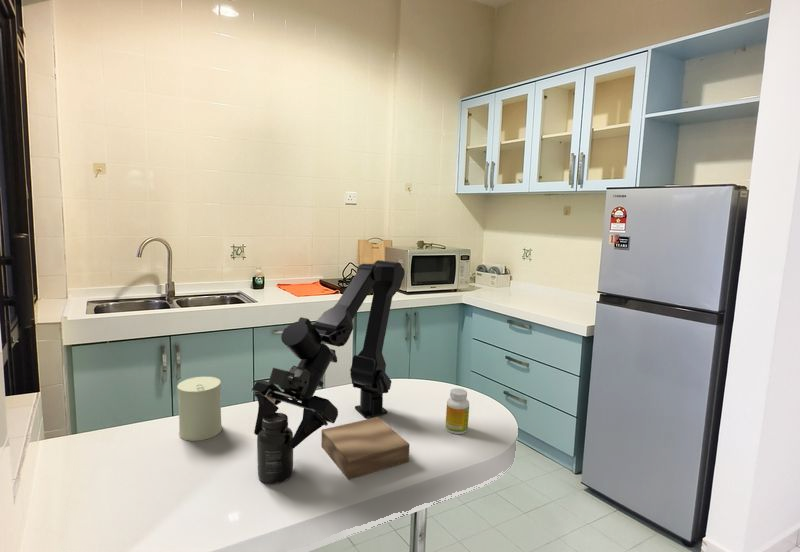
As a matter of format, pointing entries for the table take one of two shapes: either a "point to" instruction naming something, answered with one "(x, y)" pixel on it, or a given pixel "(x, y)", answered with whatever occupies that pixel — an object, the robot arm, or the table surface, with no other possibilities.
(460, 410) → the supplement bottle
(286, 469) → the supplement bottle
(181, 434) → the can
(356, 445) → the block
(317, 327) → the robot arm
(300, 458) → the table surface
